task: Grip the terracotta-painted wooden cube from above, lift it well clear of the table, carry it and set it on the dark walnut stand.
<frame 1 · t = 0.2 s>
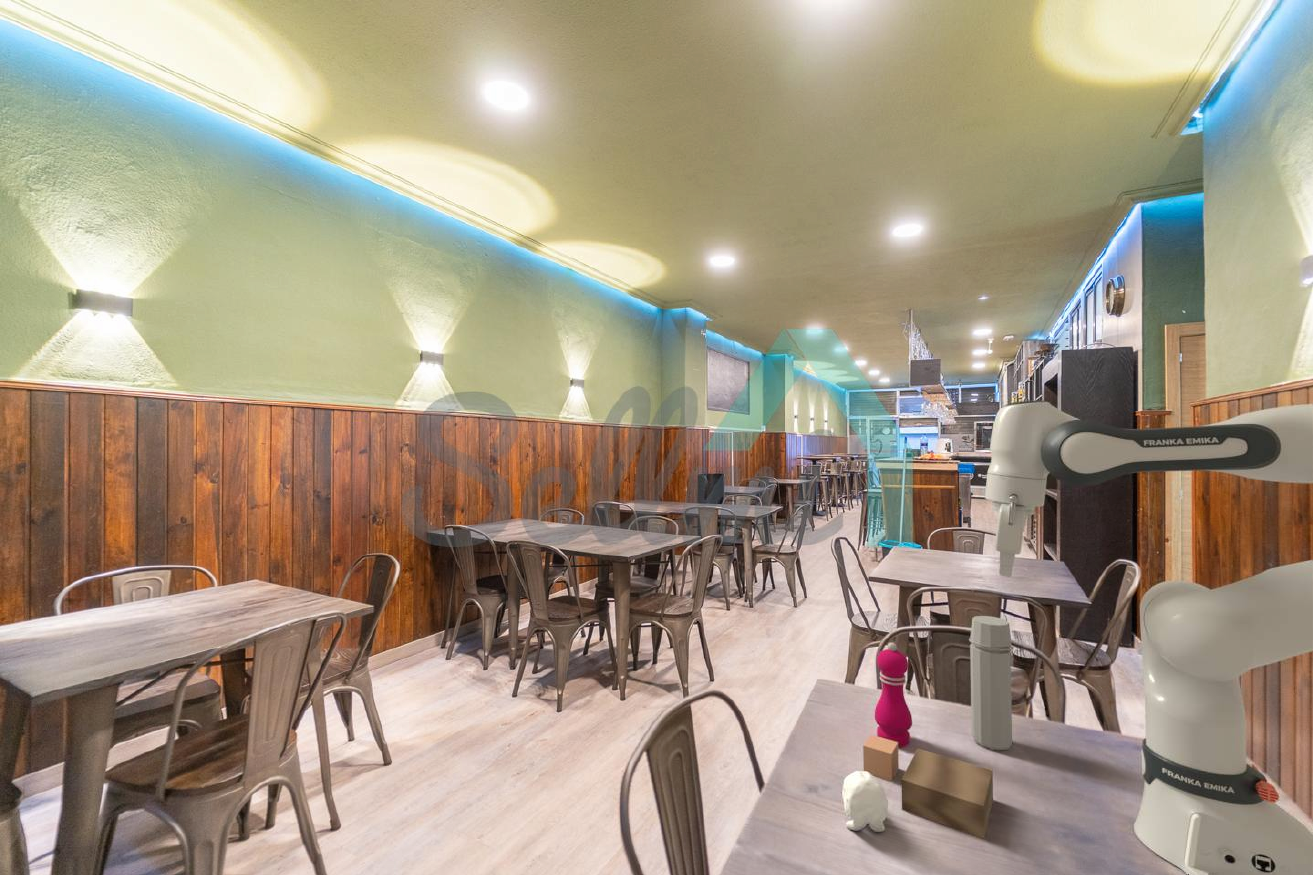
hand: (1006, 570, 100), 39 cm above the table, tool pointing down, fingers open, 8 cm apart
pepper mill: (893, 740, 118), on the table
penguin figurine: (860, 818, 93), on the table
walnut stand: (948, 804, 96), on the table
terracotta cube: (881, 770, 107), on the table
water bottle: (994, 742, 116), on the table
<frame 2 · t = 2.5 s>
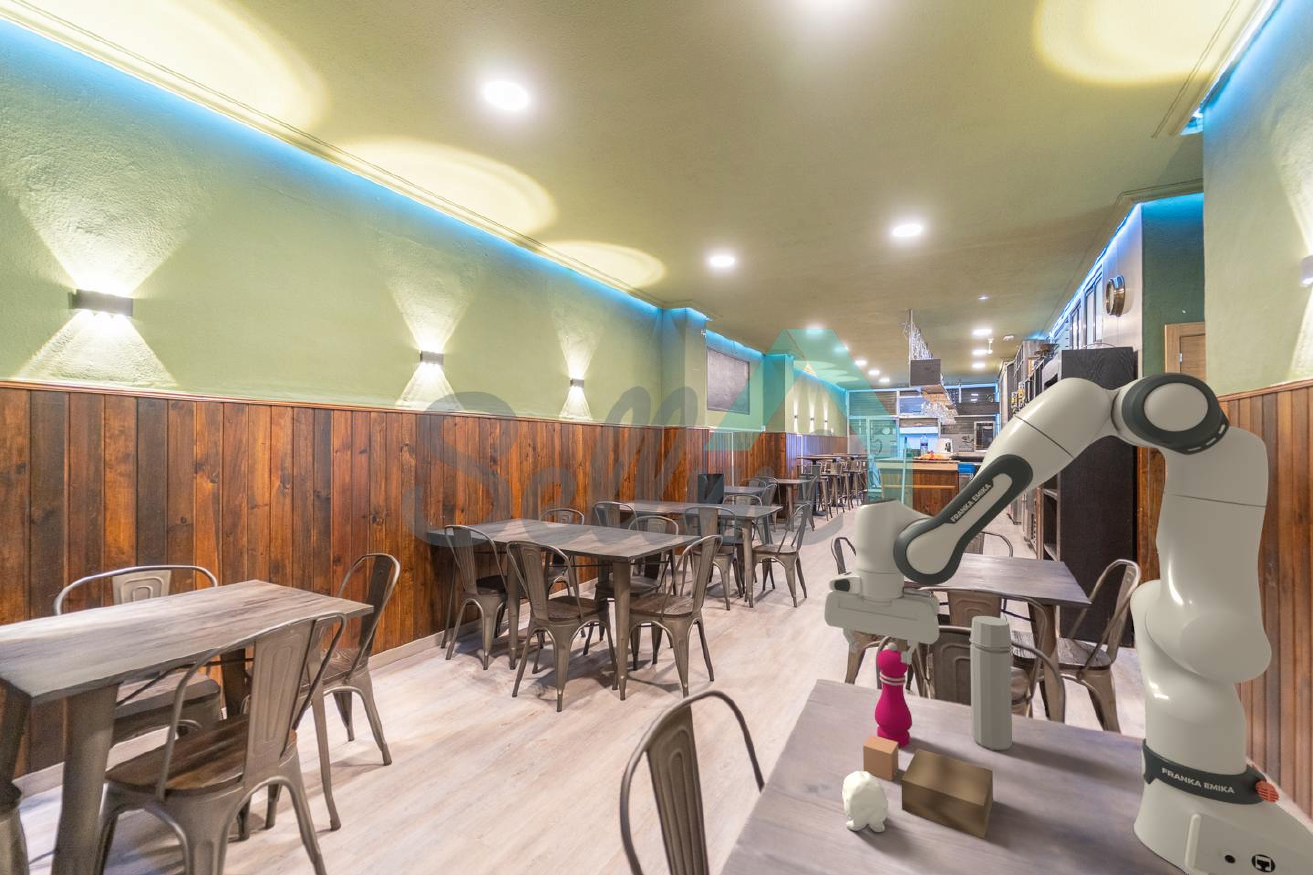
hand: (879, 657, 107), 21 cm above the table, tool pointing down, fingers open, 8 cm apart
nothing on the table moved.
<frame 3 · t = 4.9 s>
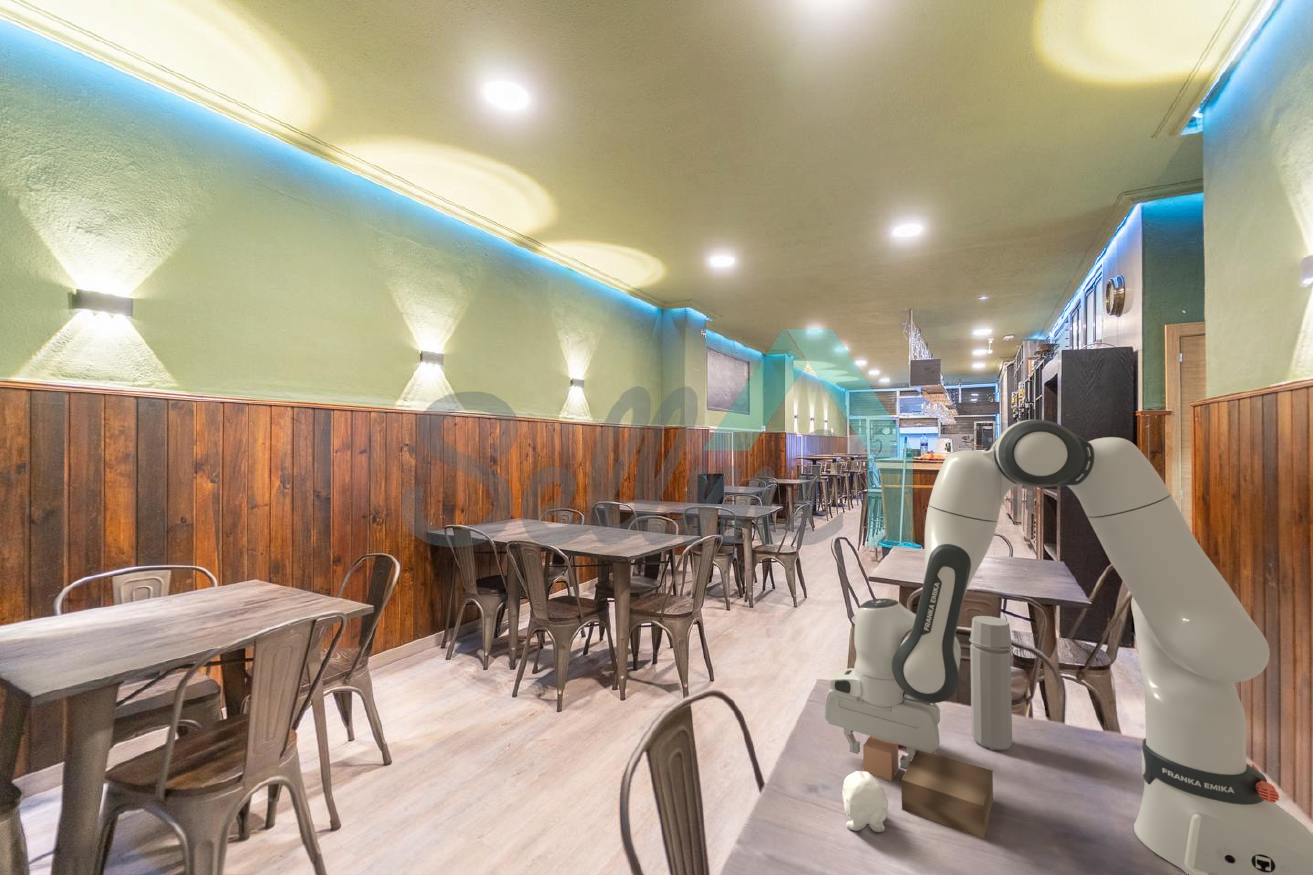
hand: (879, 759, 107), 2 cm above the table, tool pointing down, fingers open, 8 cm apart
nothing on the table moved.
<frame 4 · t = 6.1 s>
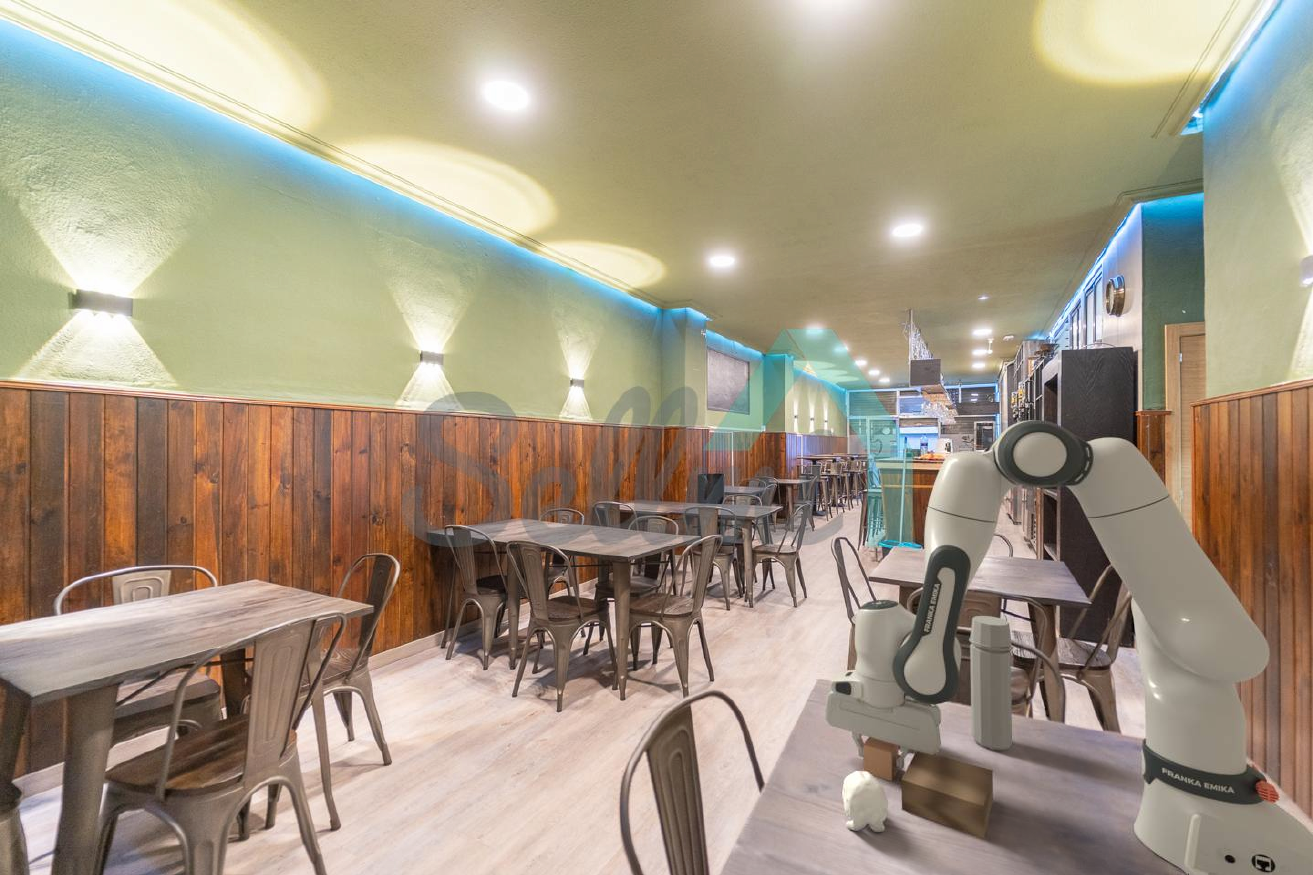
hand: (881, 761, 107), 2 cm above the table, tool pointing down, fingers closed on terracotta cube, 5 cm apart
terracotta cube: (881, 770, 107), on the table, touching gripper
everything else where it was.
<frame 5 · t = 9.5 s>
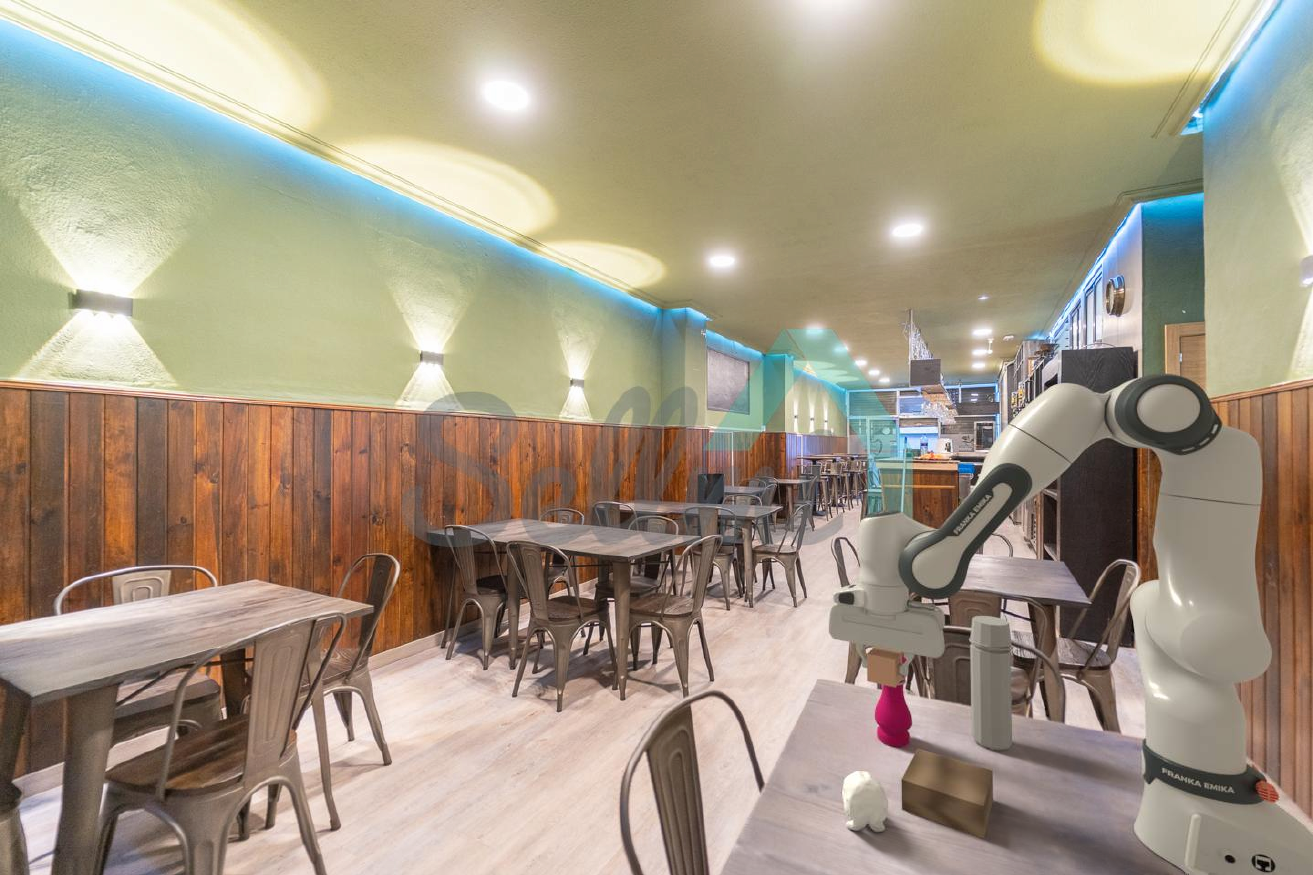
hand: (884, 670, 106), 19 cm above the table, tool pointing down, fingers closed on terracotta cube, 5 cm apart
terracotta cube: (884, 679, 106), point 17 cm above the table, touching gripper
everything else where it was.
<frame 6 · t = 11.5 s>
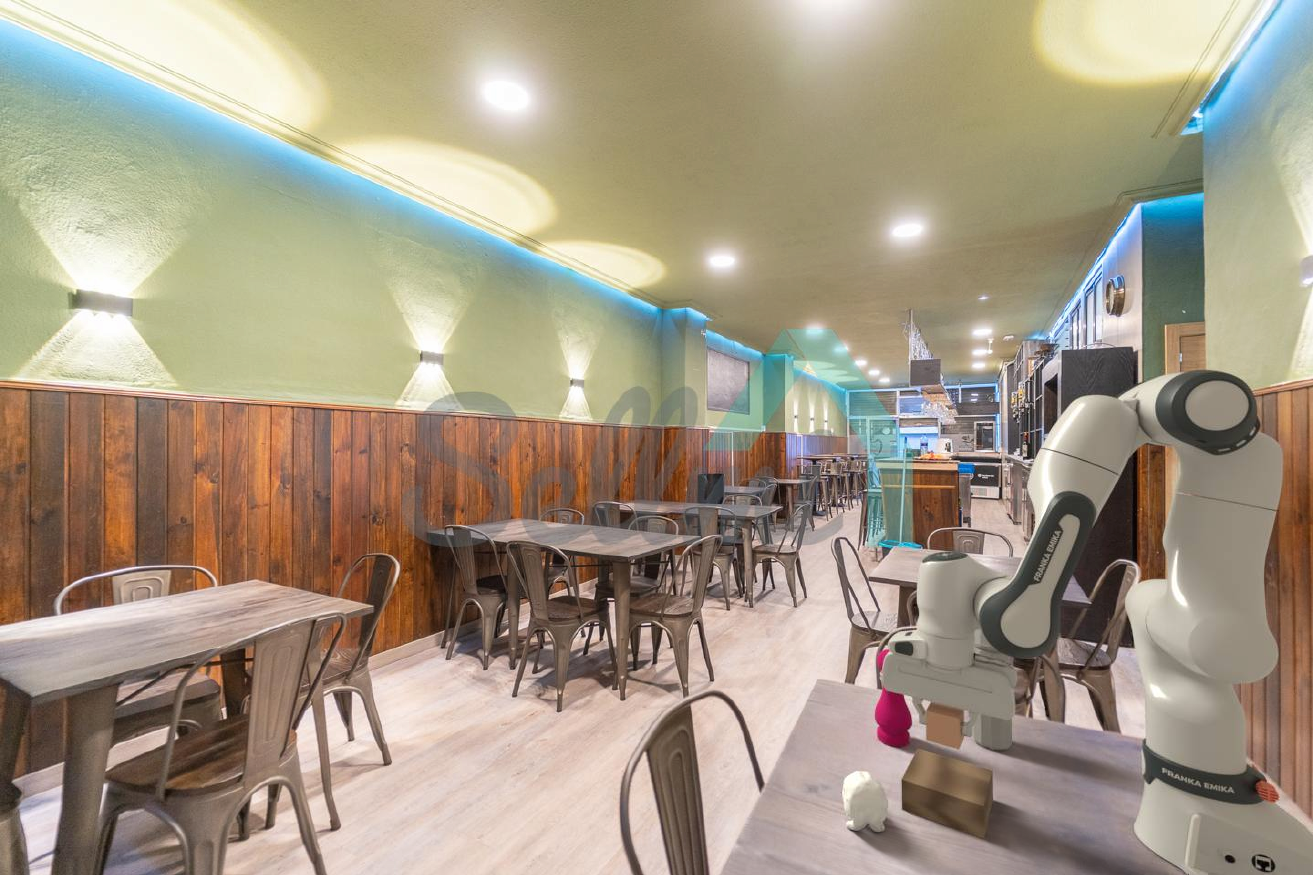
hand: (945, 729, 97), 13 cm above the table, tool pointing down, fingers closed on terracotta cube, 5 cm apart
terracotta cube: (945, 738, 96), point 11 cm above the table, touching gripper
everything else where it was.
when the fingers open (8 cm above the table, at t = 13.1 s): terracotta cube drops 1 cm, resting on walnut stand.
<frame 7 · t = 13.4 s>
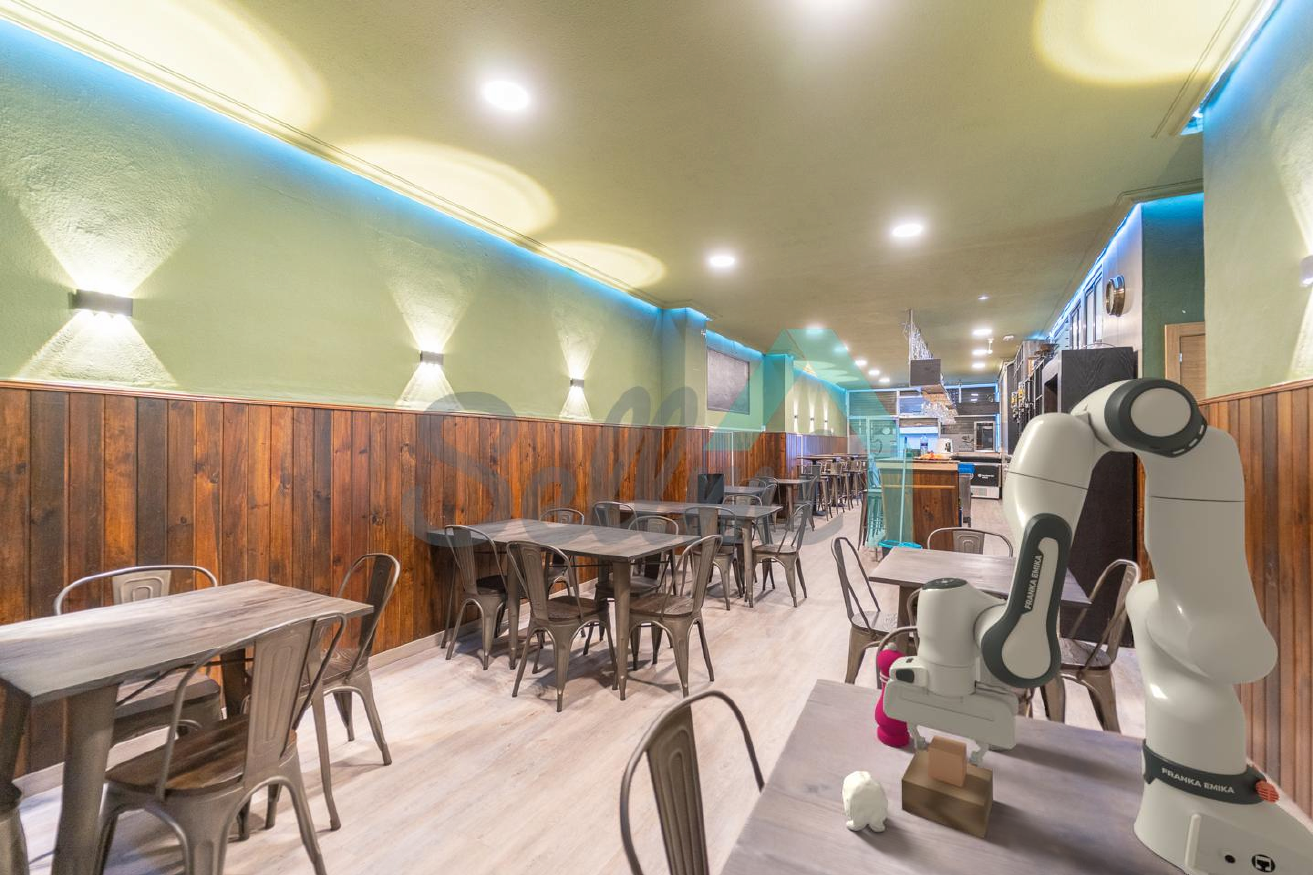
hand: (947, 756, 96), 8 cm above the table, tool pointing down, fingers open, 7 cm apart
terracotta cube: (947, 774, 96), point 5 cm above the table, touching walnut stand
everything else where it was.
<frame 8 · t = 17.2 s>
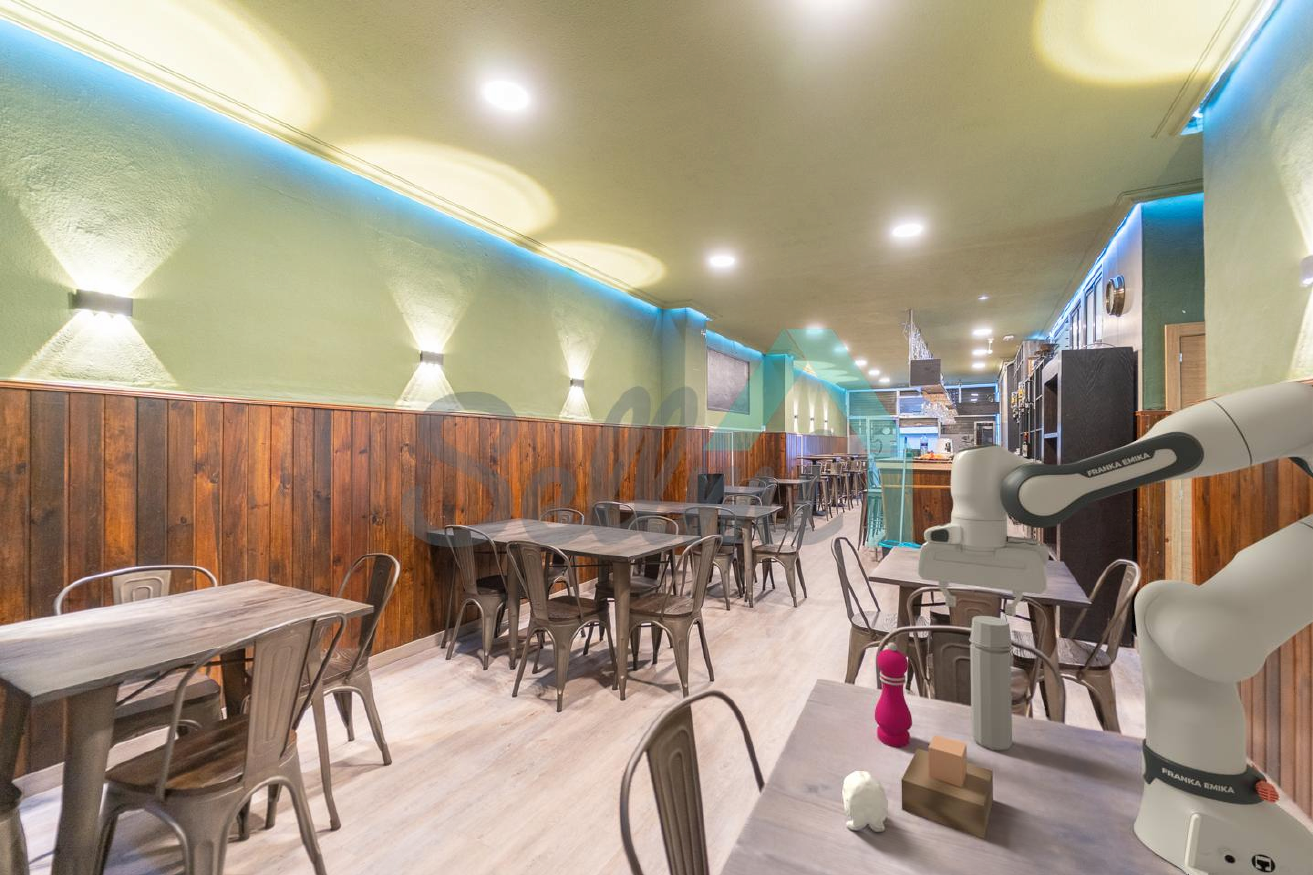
hand: (979, 610, 102), 31 cm above the table, tool pointing down, fingers open, 8 cm apart
nothing on the table moved.
at the end: terracotta cube inside the target area on the walnut stand (0.1 cm from its centre), point 5.0 cm above the walnut stand's base; terracotta cube tilted 0°; the gripper is holding nothing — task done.
